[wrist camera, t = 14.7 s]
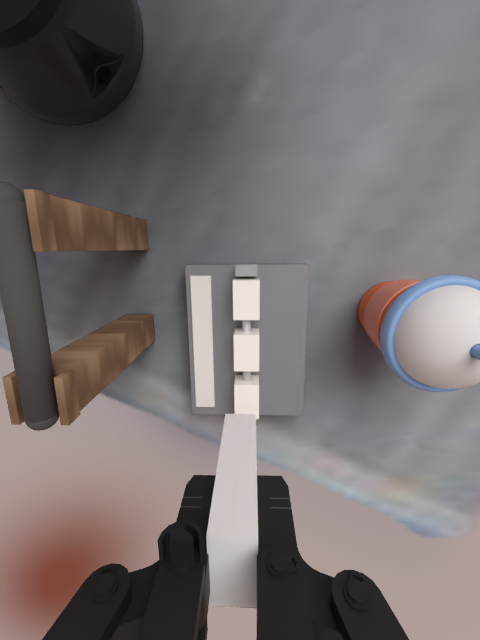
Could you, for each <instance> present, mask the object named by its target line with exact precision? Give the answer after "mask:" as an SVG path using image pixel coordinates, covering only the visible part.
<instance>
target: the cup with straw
mask: <svg viewBox="0 0 480 640" xmlns="http://www.w3.org/2000/svg"><path fill="white" fill-rule="evenodd" d="M358 316H359V320H360V323H361V325H362V326H363V328H364V329H365V330H366V332H367V334H368V336H369V337H370V339H371V340H372V341H373V342H374V343H375V345H376V346H377V347H378V348H379V349H380V350H381V351H382V354H383V357H384V359H385V362H386V363H387V365H388V367H389V368H390V369H391V371H392V372H393V373H394V374H395V375H396V376H397V377H398V378H399V379H401V380H402V381H404V382H405V383H407V384H409V385H410V386H413V387H415V388H418V389H421V390H425V391H431V392H448V391H454V390H458V389H461V388H464V387H468V386H472V385H475V384H477V383H480V281H477V280H475V279H472V278H469V277H465V276H458V275H442V276H436V277H432V278H428V279H425V280H397V281H389V282H382V283H379V284H377V285H375V286H373V287H372V288H370V289H369V290H368V291H367V292H366V293H365V294H364V296H363V297H362V299H361V301H360V304H359V309H358Z"/></svg>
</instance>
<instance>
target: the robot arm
mask: <svg viewBox="0 0 480 640" xmlns="http://www.w3.org/2000/svg"><path fill="white" fill-rule="evenodd" d="M142 47H143V29H142V21H141V15H140V10H139V6H138V3H137V0H0V91H1V92H2V93H3V94H4V95H5V96H6V97H8V98H9V99H10V100H12V101H13V102H14V103H16V104H17V105H19V106H21V107H22V108H24V109H25V110H27V111H29V112H30V113H32V114H34V115H35V116H37V117H39V118H42V119H44V120H46V121H49V122H53V123H57V124H63V125H79V124H85V123H89V122H92V121H95V120H97V119H99V118H101V117H103V116H105V115H106V114H108V113H109V112H110V111H112V110H113V109H114V108H115V107H116V106H117V105H118V104H119V103H120V102H121V101H122V100H123V98H124V97H125V96H126V94H127V93H128V91H129V90H130V88H131V86H132V84H133V82H134V80H135V78H136V75H137V72H138V69H139V65H140V61H141V55H142ZM158 547H159V559H160V560H159V561H157V562H156V563H154V564H153V565H151V566H149V567H146V568H143V569H140V570H137V571H134V572H130V573H129V572H128V570H127V568H125V567H124V566H122V565H121V564H109V565H105V566H102V567H100V568H99V569H97V570H96V571H94V572H93V573H92V574H91V575H90V576H89V577H88V578H87V579H86V580H85V581H84V583H83V584H82V586H81V587H80V588H79V590H78V591H77V593H76V594H75V595H74V597H73V598H72V599H71V601H70V602H69V603H68V605H67V606H66V608H65V609H64V610H63V612H62V613H61V614H60V616H59V617H58V619H57V620H56V621H55V623H54V624H53V626H52V627H51V628H50V630H49V631H48V632H47V634H46V635H45V636H44V638H43V639H42V640H207V630H208V628H207V613H208V605H209V606H213V607H240V608H257V640H409V639H408V637H407V635H406V634H405V632H404V630H403V628H402V627H401V625H400V623H399V622H398V620H397V618H396V617H395V615H394V613H393V612H392V610H391V608H390V606H389V605H388V603H387V601H386V600H385V598H384V596H383V595H382V593H381V591H380V590H379V588H378V587H377V586H376V585H375V583H374V582H373V581H372V580H371V579H370V578H368V577H367V576H366V575H364V574H363V573H360V572H357V571H355V570H344V571H342V572H340V573H338V574H337V575H336V576H335V578H333V577H331V576H328V575H326V574H323V573H320V572H318V571H316V570H314V569H313V568H311V567H310V566H309V565H308V564H307V563H306V562H305V561H304V560H303V559H302V557H301V555H300V553H299V551H298V548H297V543H296V536H295V529H294V522H293V516H292V509H291V502H290V497H289V489H288V485H287V484H286V482H285V481H284V480H283V478H282V476H257V455H256V414H225V420H224V426H223V433H222V439H221V445H220V453H219V459H218V465H217V472H216V476H212V475H211V476H210V475H194V476H193V477H192V478H191V480H190V481H189V482H188V483H187V485H186V488H185V492H184V496H183V499H182V503H181V508H180V510H179V514H178V518H177V521H176V522H175V523H174V524H171V525H169V526H168V527H167V528H166V529H165V530H164V531H163V532H162V533H161V535H160V537H159V539H158Z"/></svg>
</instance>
